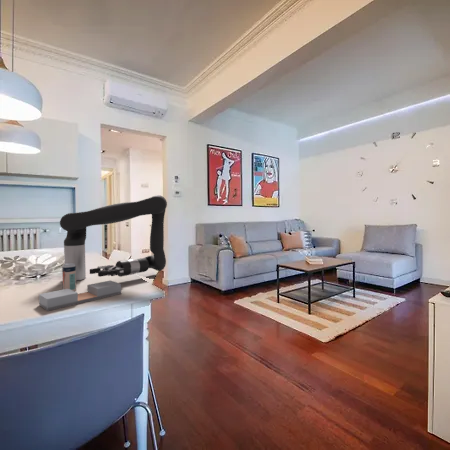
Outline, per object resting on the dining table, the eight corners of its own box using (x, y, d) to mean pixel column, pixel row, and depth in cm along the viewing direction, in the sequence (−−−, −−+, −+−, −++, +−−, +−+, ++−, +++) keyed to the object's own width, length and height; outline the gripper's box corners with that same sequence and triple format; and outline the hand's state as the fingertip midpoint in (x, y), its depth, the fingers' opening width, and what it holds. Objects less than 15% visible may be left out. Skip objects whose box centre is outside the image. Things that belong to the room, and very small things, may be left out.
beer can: (66, 291, 113) (65, 263, 113) (78, 290, 113) (77, 262, 113) (60, 294, 108) (59, 265, 108) (72, 294, 109) (72, 264, 108)
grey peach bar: (39, 305, 95) (38, 294, 95) (110, 289, 115) (110, 280, 115) (47, 311, 89) (47, 299, 89) (121, 293, 109) (120, 283, 109)
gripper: (120, 258, 135) (86, 262, 123) (135, 261, 126) (101, 266, 114) (120, 273, 135) (87, 279, 123) (135, 277, 126) (101, 283, 114)
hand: (94, 272), depth 118 cm, fingers open, 8 cm apart
